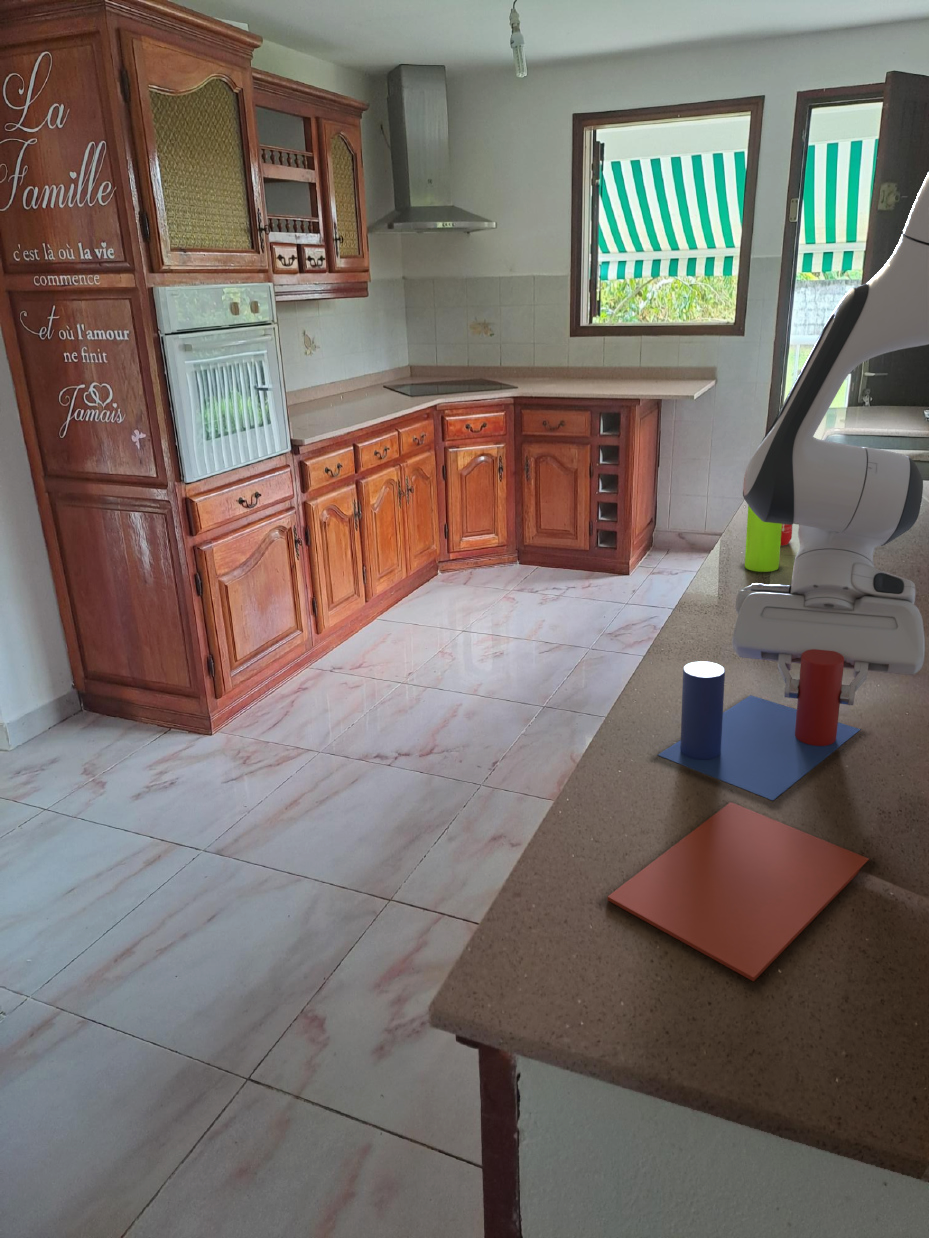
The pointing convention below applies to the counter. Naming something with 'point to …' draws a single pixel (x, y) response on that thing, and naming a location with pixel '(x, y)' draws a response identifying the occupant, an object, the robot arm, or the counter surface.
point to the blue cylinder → (702, 710)
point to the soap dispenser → (762, 544)
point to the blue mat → (761, 749)
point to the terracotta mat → (739, 887)
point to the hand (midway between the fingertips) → (818, 699)
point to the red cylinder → (819, 697)
